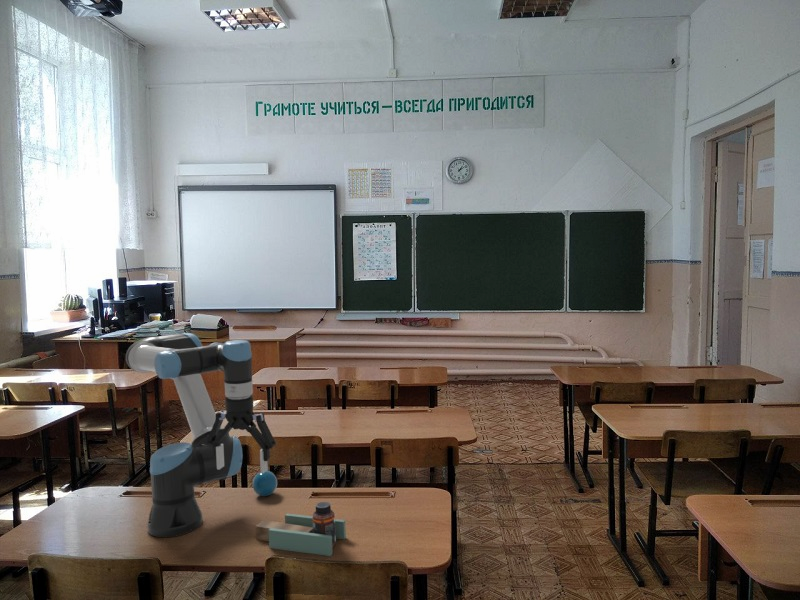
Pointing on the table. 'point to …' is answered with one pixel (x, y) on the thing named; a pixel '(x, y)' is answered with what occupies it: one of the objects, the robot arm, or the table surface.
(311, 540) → the channel
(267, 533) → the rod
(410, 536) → the table surface
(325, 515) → the supplement bottle
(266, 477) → the ball
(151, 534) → the robot arm
